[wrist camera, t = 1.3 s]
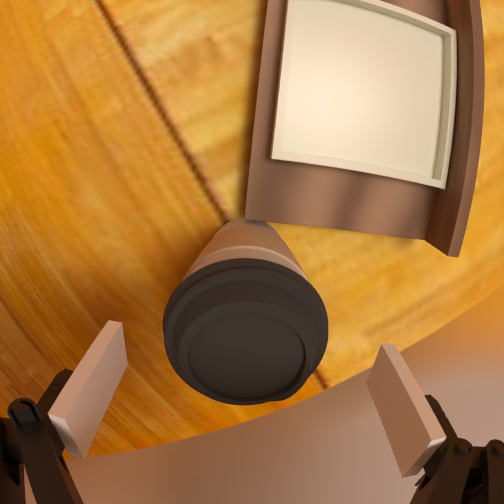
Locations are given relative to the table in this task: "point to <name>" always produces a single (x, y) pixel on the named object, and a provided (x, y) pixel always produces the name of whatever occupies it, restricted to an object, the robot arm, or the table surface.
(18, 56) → the table surface
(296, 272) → the coffee cup
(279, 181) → the shelf
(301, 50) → the tray
